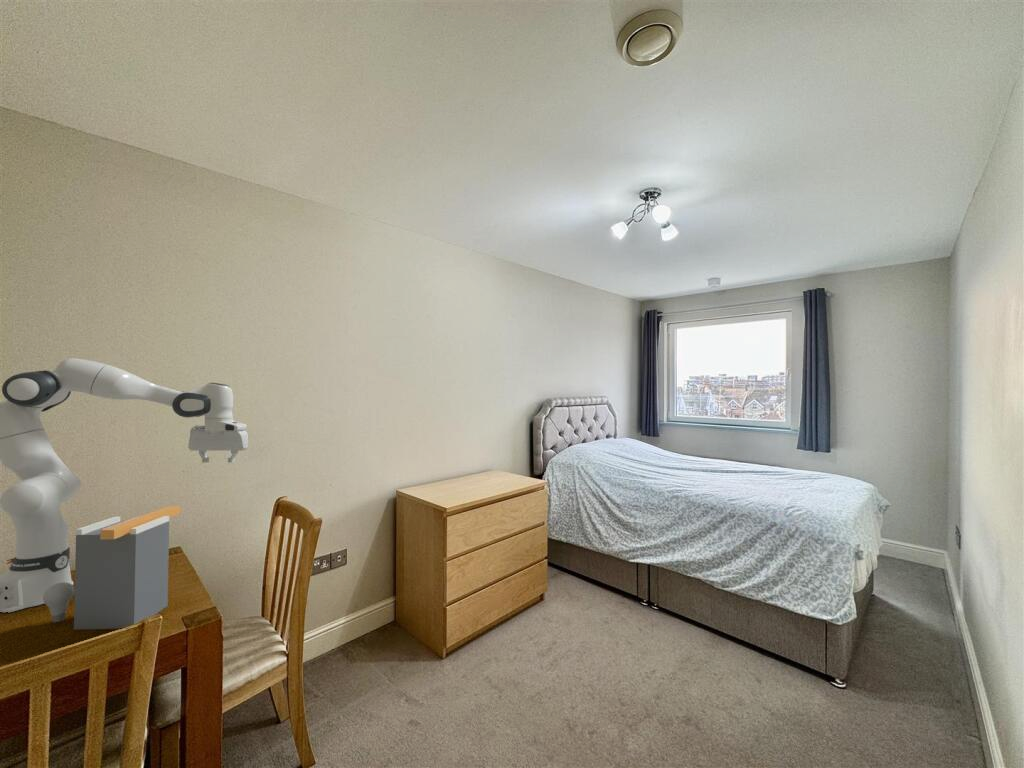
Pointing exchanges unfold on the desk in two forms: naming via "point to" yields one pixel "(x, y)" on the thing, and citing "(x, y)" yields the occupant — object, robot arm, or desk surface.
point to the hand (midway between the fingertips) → (218, 462)
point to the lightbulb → (58, 599)
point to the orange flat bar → (137, 522)
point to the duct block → (120, 574)
